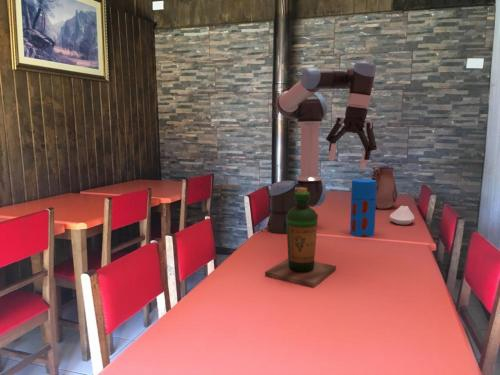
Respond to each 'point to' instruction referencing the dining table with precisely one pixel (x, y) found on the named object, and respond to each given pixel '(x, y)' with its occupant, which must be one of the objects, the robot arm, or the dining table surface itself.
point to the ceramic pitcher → (384, 186)
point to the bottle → (301, 233)
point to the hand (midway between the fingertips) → (346, 164)
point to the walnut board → (301, 273)
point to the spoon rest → (402, 216)
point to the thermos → (363, 207)
